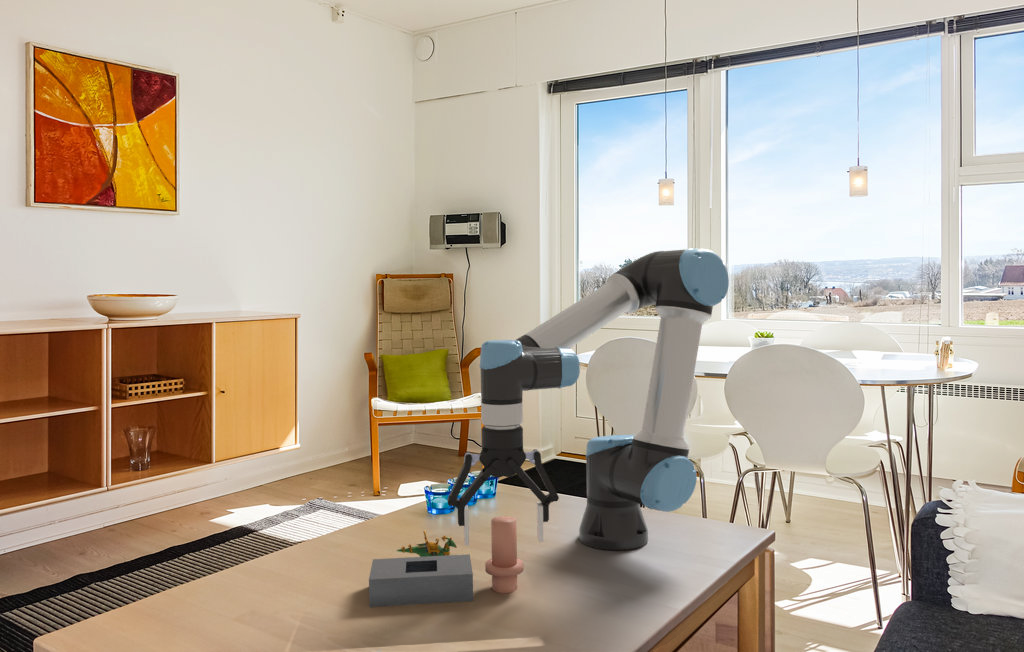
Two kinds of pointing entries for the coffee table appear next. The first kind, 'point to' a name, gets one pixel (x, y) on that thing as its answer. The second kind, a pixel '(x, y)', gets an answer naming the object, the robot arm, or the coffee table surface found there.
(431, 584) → the housing
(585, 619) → the coffee table surface
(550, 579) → the coffee table surface
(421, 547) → the figurine
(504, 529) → the flanged shaft
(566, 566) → the coffee table surface
